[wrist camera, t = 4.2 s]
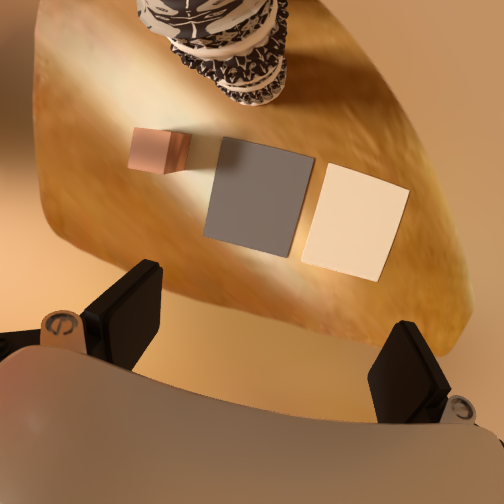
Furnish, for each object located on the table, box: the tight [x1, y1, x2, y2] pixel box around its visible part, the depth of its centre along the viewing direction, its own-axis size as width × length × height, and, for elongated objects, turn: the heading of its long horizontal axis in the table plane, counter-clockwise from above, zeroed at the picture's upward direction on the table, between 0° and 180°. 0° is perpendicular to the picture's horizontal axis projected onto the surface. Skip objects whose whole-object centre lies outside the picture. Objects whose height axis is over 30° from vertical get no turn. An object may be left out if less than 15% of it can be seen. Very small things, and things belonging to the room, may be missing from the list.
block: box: [128, 127, 191, 174], centre depth 33 cm, size 5×5×7 cm
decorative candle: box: [137, 0, 289, 106], centre depth 20 cm, size 9×9×25 cm
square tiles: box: [203, 137, 409, 282], centre depth 37 cm, size 14×26×1 cm, turn 77°
